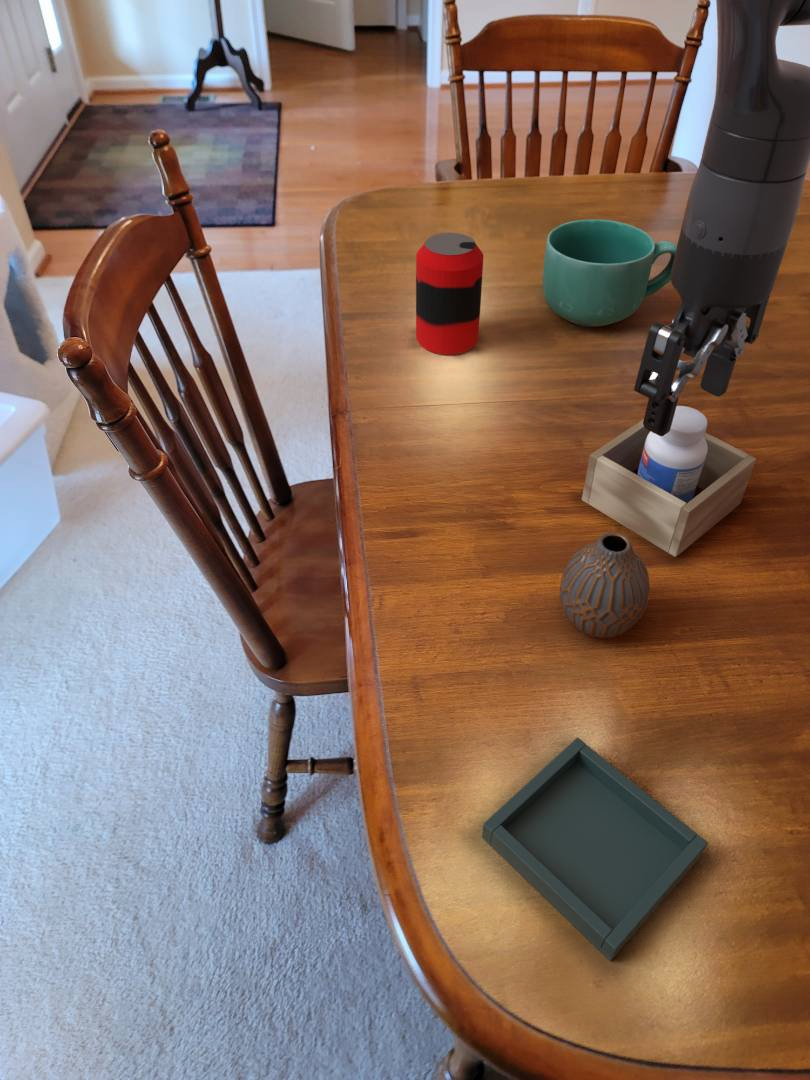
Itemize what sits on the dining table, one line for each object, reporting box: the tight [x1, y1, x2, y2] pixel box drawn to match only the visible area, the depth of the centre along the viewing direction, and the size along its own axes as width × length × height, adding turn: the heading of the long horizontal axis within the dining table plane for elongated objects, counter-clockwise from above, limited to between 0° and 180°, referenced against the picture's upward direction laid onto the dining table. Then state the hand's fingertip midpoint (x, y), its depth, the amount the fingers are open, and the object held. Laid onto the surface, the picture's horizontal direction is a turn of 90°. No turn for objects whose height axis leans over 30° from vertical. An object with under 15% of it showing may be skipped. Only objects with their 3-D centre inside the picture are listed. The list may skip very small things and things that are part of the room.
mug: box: [542, 218, 677, 328], centre depth 102 cm, size 17×13×10 cm
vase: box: [559, 531, 651, 639], centre depth 66 cm, size 7×7×9 cm
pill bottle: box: [636, 405, 709, 503], centre depth 76 cm, size 6×5×10 cm
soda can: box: [415, 232, 484, 356], centre depth 97 cm, size 8×8×12 cm
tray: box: [481, 737, 709, 962], centre depth 54 cm, size 11×10×2 cm
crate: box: [581, 418, 757, 558], centre depth 77 cm, size 11×11×6 cm
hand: (684, 410), depth 72 cm, fingers open, 8 cm apart
